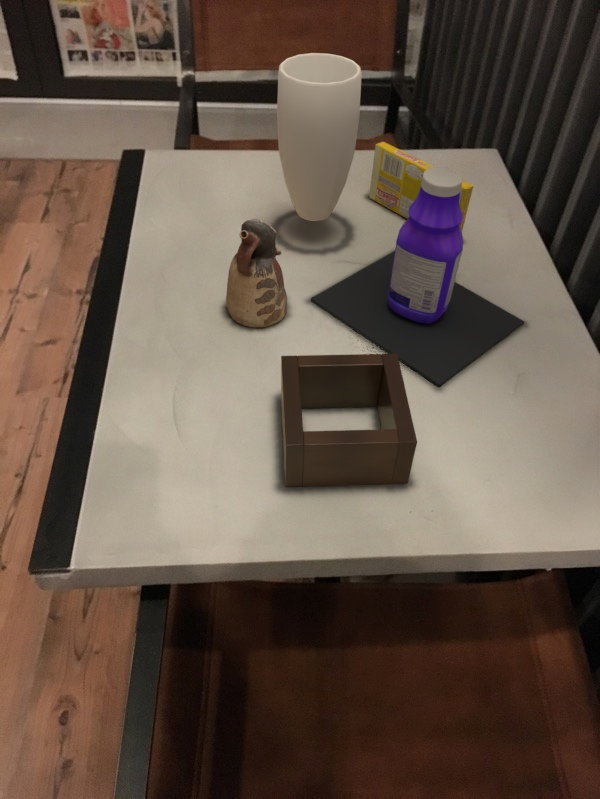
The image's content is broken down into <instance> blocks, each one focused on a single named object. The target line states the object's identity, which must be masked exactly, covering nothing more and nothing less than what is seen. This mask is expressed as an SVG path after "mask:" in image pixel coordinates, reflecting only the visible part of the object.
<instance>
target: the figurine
mask: <svg viewBox="0 0 600 799" xmlns="http://www.w3.org/2000/svg"><path fill="white" fill-rule="evenodd" d="M277 232H278V231H276V230H275V228H273V227H272V226H271V225H270V224H267V223H265V221H263V220H262V219H258V218H252V219H249V220H245V221H244V222H243V223H242V224H241V228H240V232H239V238H240V240H241V242H240V244H239V246H238V249H237V252H236V253H235V254H234V256H233V257H232V259H231V262H230V265H229V268H228V276H227V284H226V295H225V298H226V306H227V311H228V314H229V316H230V318H232V319H233V321H234V322H236V323H237V324H240V325H242V326H245V327H248V328H249V327H250V328H267V327H271V326H272V325H275V324H277V323H279V322H280V321H282V320H283V319H284V318H285V316H286V314H287V304H288V295H287V291H286V288H285V280H284V273H283V270H282V267H281V265H280V263H279V261H278V260H277V256H280V255H282V250H281V249H279V248H277V245H276V244H277V241H276V240H277V239H276V238H277V234H278V233H277Z"/></svg>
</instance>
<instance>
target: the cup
mask: <svg viewBox="0 0 600 799" xmlns="http://www.w3.org/2000/svg"><path fill="white" fill-rule="evenodd" d="M362 76H363V74H362V67H361V66H360V65H359V64H358V63H356V61H354V60H352V59H351V58H347V57H345V56H342V55H337V54H332V53H324V52H323V53H322V52H321V53H320V52H309V53H301V54H296V55H293V56H290V57H287V58H286V59H284V60H283V61H282V62H281V63H280V64H279V66H278V74H277V101H276V105H277V106H276V123H277V125H276V126H277V145H278V146H277V148H278V152H279V154H278V155H279V160H280V162H281V163H280V164H281V169H282V174H283V178H284V179H283V180H284V183H285V186H286V189H287V192H288V194H289V197H290V201H291V203H292V205H293V207H294V209H295V211H296V213H297V215H298V217H300V218H301V219H303V220H306V221H309V222H310V221H311V222H319V221H324V220H326V219H329V217H330V216H331V214H332V212H333V211H334V209H335V207H336V206H337V203H338V202H339V200H340V197H341V195H342V193H343V190H344V188H345V186H346V183H347V180H348V176H349V173H350V170H351V167H352V163H353V161H354V156H355V153H356V148H357V147H356V145H357V140H358V139H357V137H358V131H359V122H360V117H361V116H360V112H361V93H362Z"/></svg>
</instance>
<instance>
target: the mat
mask: <svg viewBox="0 0 600 799" xmlns="http://www.w3.org/2000/svg"><path fill="white" fill-rule="evenodd" d="M394 254H395V250H394V251H392V252H390V253H388V254H387V255H385V256H383V257H381V258H380V259H378V260H376V261H374V262H372V263H370V264H369V265H367V266H365V267H364V268H362V269H360V270H358V271H356V272H354V273H353V274H351V275H349V276H348V277H345V278H344V279H342V280H340V281H338V282H337V283H336V284H334V285H332V286H330V287H328V288H327V289H325V290H323V291H321V292H320V293H318V294H316V295H314V296H311V298H310V302H312V303H314V304H315V305H316V306H318V307H319V308H321V309H322V310H324V311H325V312H327V313H328V314H330V315H331V316H332V317H334V318H336V319H337V320H338V321H340V322H342V323H343V324H345V325H346V326H348V327H349V328H350V329H352V330H353V331H355V332H356V333H358V334H359V335H361V336H362V337H364V338H365V339H366V340H368V341H370V342H371V343H373V344H374V345H376V346H377V347H378V348H380V349H381V350H383V351H384V352H386V353H387V354H397V355H398V359H399V362H401V363H402V364H404V365H405V366H407V367H408V368H410V369H411V370H413V371H414V372H415V373H417V374H418V375H420V376H422V377H423V378H425V379H426V380H427V381H429V382H430V383H432V384H433V385H435V386H436V387H439V388H440V387H442V386H443V385H444V384H445V383H446V382H448V381H449V380H450V379H452V378H453V377H454V376H456V375H457V374H459V373H460V372H461V371H463V370H464V369H466V367H468V366H469V365H471V364H472V363H473V362H475V361H476V360H477V359H479V358H480V357H481V356H483V355H484V354H486V352H488V351H489V350H491V349H492V348H493V347H495V346H496V345H498V344H499V343H501V341H502V340H505V339H506V338H507V337H508V336H509V335H511V334H513V332H515V331H516V330H517V329H519V328H520V327H522V326H523V325H524V324H525V320H523V319H521V318H519V317H517V316H516V315H514V314H512V313H510V312H508V311H507V310H505V309H503V308H502V307H500V306H498V305H496V304H494V302H491V301H490V300H488V299H486V298H484V297H482V296H481V295H479V294H478V293H475V291H474V292H473V291H472V290H470V289H468V288H467V287H464V286H463V285H461V284H460V283H458V282H456V281H455V283H454V287H453V291H452V295H451V299H450V301H449V305H448V308H447V310H446V311H445V312H444V313H443V314H442V315H441V317H440V318H439V319H438V320H436V321H435V322H433V323H430V324H425V323H419V322H416V321H413V320H410V319H407V318H405V317H403V316H401V315H399V314H397V313H396V312H394V311H393V310H392V309H391V308H390V305H389V302H388V291H389V285H390V279H391V273H392V266H393V260H394Z"/></svg>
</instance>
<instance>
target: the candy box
mask: <svg viewBox="0 0 600 799" xmlns="http://www.w3.org/2000/svg"><path fill="white" fill-rule="evenodd" d="M374 147H375V148H374V155H373V162H372V169H371V179H370V186H369V192H368V198H369V199H371V200H372V201H374V202H376V203H378V204H379V205H381V206H383V207H384V208H386V209H389V210H390V211H392V212H394V213H396V214H397V215H399V216H401V217H403V218H405V219H406V220H407V219H408V218H409V213H408V211H409V207H410V205H411V204H412V203H413V202H414V201H415V199H416V198H417V196H418V194H419V192H420V188H421V182H422V178H423V174H424V172H425V171H426V170H427V169H429V168H433V167H435V166H434V165H432V164H430V163H429V162H426V161H424V160H422V159H420V158H418V157H416V156H413V155H412V154H410V153H407V152H406V151H403V150H401V149H399V148H398V147H396V146H394V145H392V144H390V143H387V142H385V141H381V142H378V143H375V145H374ZM473 190H474V185H473V184H471V183H469V182H467V181H465V180H463V181H462V186H461V191H460V197H459V206H460V209H461V212H462V215H463V219H462V222H461V224H460V225H459V227H460V230H461V233H462V234H463V230H464V226H465V222H466V217H467V214H468V210H469V205H470V201H471V197H472V194H473Z"/></svg>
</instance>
